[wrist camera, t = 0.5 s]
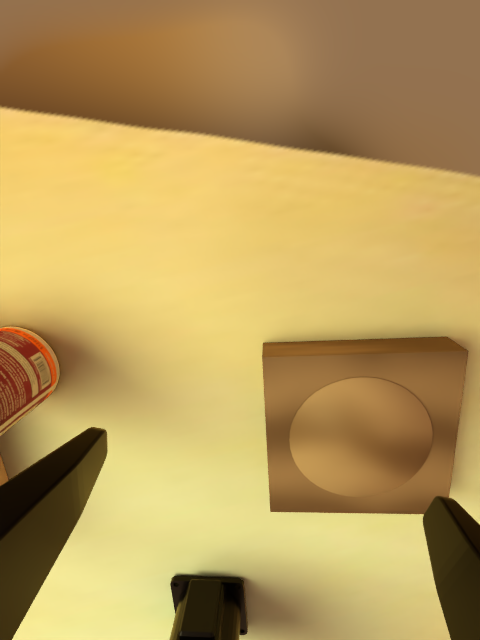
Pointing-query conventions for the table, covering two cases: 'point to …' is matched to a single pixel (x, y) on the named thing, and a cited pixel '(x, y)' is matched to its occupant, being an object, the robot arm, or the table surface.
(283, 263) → the table surface
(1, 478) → the box
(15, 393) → the pill bottle
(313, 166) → the table surface
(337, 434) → the base slab
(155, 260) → the table surface
